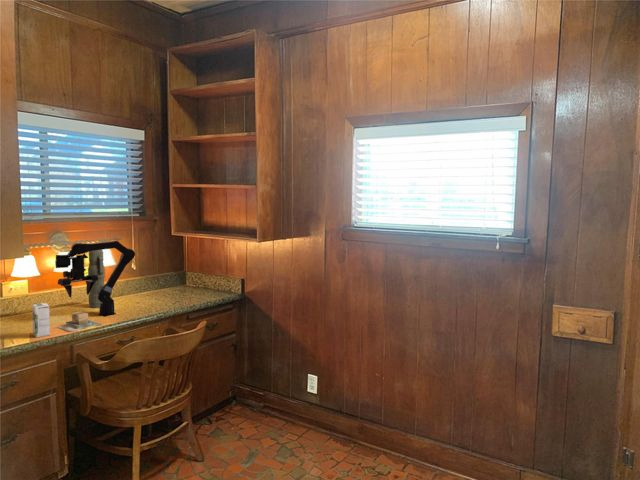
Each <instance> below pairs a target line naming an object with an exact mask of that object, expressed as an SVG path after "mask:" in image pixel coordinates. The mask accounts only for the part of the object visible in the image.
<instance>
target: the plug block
mask: <svg viewBox="0 0 640 480" xmlns="http://www.w3.org/2000/svg"><path fill="white" fill-rule="evenodd" d="M88 320H89V313H87V312H84V311H76V312H71V321H72V323H74V324H77V325H81V324H86V323H88Z"/></svg>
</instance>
